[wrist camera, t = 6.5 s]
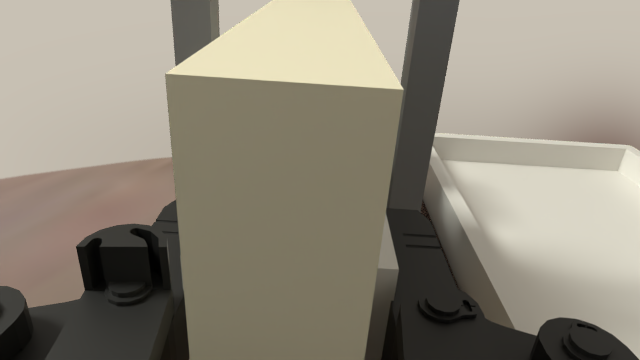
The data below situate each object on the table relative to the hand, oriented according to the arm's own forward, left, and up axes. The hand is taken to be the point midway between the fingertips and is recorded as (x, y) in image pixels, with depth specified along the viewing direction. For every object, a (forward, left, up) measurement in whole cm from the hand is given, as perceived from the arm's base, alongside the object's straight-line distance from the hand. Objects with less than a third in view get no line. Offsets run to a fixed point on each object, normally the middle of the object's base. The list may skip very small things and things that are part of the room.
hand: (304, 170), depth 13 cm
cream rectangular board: (0, +1, -7) cm, 7 cm away
